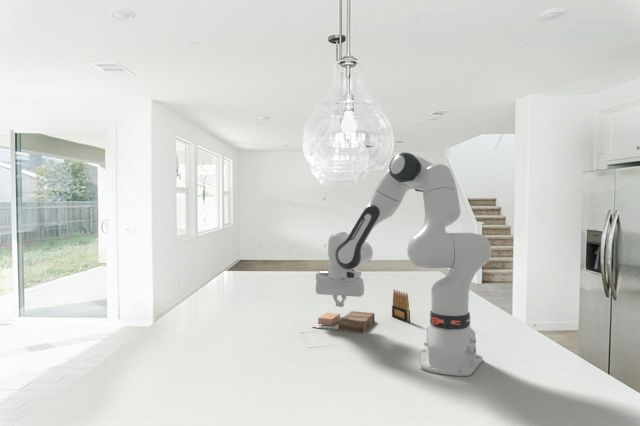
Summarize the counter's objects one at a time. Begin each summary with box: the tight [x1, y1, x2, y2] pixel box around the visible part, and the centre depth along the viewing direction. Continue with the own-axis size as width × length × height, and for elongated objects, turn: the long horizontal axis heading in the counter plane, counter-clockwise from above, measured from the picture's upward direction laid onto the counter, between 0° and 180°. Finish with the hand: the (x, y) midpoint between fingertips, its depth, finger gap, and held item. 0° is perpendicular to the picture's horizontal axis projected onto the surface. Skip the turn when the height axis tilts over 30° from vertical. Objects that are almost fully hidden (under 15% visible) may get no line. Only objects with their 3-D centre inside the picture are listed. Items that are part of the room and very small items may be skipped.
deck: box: [338, 310, 376, 333], centre depth 167 cm, size 16×10×4 cm, turn 157°
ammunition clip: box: [391, 289, 411, 324], centre depth 175 cm, size 11×2×12 cm, turn 24°
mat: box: [318, 316, 344, 331], centre depth 171 cm, size 18×11×1 cm, turn 157°
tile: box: [317, 312, 341, 325], centre depth 172 cm, size 9×6×2 cm, turn 157°
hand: (339, 306), depth 169 cm, fingers closed
